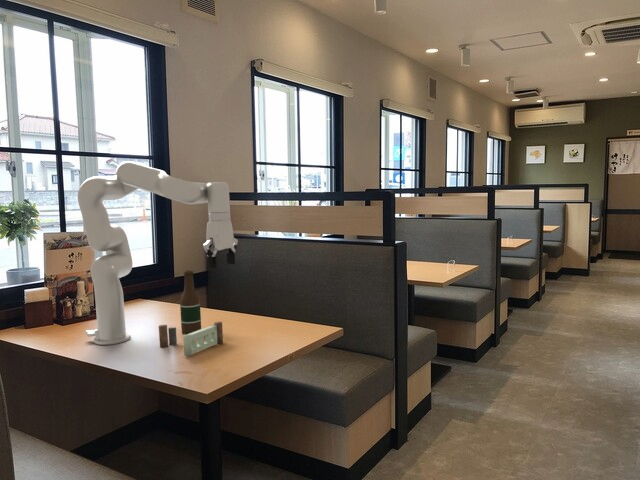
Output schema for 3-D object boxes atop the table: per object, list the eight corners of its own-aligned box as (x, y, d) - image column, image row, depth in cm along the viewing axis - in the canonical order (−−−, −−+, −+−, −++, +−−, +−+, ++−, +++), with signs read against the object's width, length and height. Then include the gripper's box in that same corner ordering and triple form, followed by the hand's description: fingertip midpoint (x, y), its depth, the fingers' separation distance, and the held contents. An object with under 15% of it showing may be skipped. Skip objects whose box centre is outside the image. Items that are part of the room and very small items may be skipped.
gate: (188, 356, 163) (187, 336, 162) (182, 355, 164) (181, 336, 163) (218, 343, 175) (217, 325, 175) (212, 343, 176) (211, 325, 176)
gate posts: (159, 348, 174) (157, 326, 173) (161, 344, 178) (160, 323, 177) (222, 344, 176) (221, 323, 176) (223, 340, 180) (222, 320, 180)
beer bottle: (196, 335, 189) (193, 272, 186) (177, 334, 190) (174, 272, 188) (205, 329, 196) (202, 268, 194) (187, 329, 198) (183, 268, 195)
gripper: (227, 216, 185) (229, 262, 187) (194, 219, 170) (197, 269, 172) (243, 215, 181) (245, 262, 183) (211, 219, 166) (214, 270, 168)
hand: (222, 265), depth 177 cm, fingers open, 9 cm apart
